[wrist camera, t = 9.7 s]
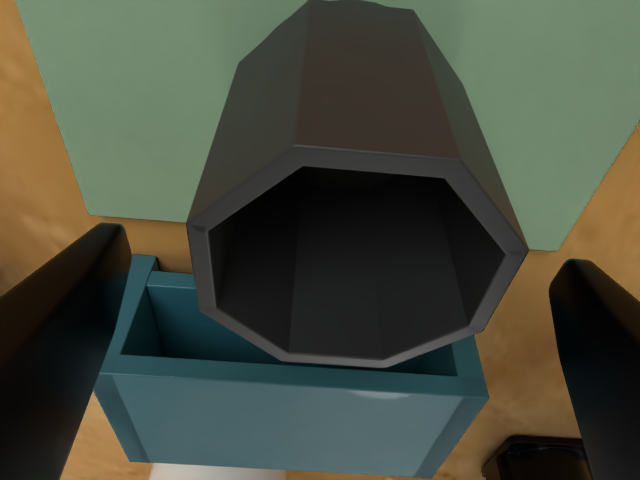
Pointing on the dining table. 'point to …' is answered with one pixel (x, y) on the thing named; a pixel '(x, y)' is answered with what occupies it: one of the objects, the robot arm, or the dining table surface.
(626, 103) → the mat
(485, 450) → the dining table surface
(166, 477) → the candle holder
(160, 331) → the box
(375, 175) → the holder
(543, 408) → the dining table surface
